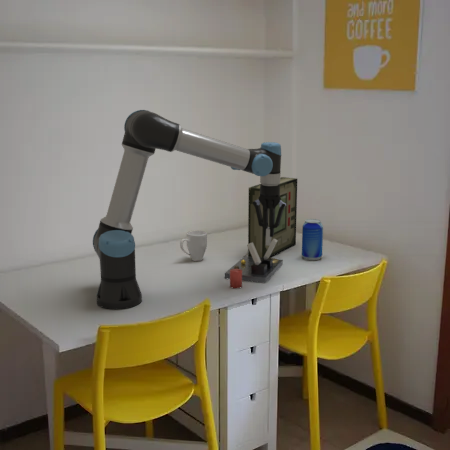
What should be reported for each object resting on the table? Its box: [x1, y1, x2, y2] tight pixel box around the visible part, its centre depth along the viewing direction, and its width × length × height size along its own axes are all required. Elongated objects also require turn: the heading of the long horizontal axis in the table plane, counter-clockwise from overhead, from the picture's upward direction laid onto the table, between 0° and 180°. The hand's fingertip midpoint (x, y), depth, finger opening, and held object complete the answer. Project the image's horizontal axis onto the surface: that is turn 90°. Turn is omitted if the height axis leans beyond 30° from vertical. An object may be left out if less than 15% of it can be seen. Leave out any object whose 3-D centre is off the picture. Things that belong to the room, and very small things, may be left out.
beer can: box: [301, 218, 324, 261], centre depth 260 cm, size 8×8×16 cm
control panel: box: [247, 176, 298, 258], centre depth 268 cm, size 30×8×30 cm, turn 148°
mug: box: [179, 230, 208, 262], centre depth 257 cm, size 12×8×11 cm
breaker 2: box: [264, 239, 278, 260], centre depth 241 cm, size 3×2×8 cm, turn 160°
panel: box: [224, 255, 284, 284], centre depth 244 cm, size 24×16×5 cm, turn 160°
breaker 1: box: [247, 242, 261, 266], centre depth 235 cm, size 3×2×8 cm, turn 160°
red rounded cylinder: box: [229, 269, 243, 289], centre depth 227 cm, size 4×4×6 cm
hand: (268, 244), depth 241 cm, fingers closed
